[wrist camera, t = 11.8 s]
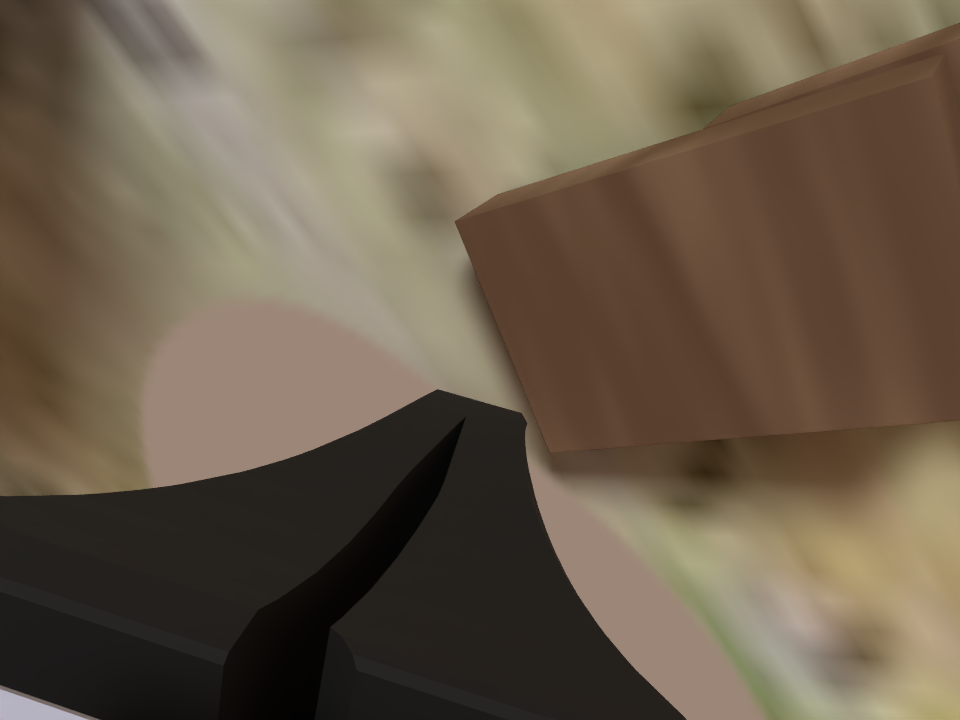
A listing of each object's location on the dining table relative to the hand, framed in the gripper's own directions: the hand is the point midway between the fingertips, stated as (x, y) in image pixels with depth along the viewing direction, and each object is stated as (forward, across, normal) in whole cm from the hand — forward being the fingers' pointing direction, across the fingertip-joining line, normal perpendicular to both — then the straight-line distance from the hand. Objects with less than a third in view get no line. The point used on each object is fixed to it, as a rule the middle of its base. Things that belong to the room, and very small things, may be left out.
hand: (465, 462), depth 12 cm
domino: (+6, 0, 0) cm, 6 cm away
